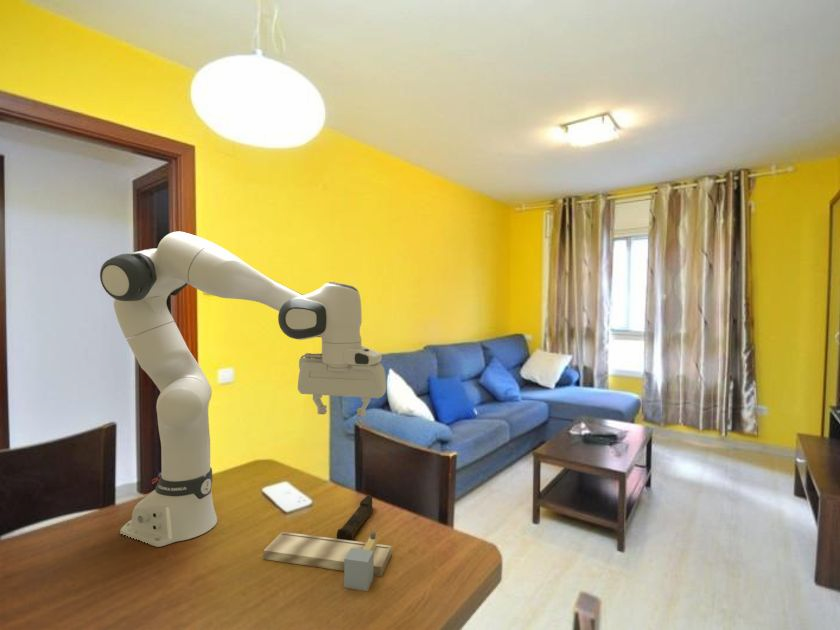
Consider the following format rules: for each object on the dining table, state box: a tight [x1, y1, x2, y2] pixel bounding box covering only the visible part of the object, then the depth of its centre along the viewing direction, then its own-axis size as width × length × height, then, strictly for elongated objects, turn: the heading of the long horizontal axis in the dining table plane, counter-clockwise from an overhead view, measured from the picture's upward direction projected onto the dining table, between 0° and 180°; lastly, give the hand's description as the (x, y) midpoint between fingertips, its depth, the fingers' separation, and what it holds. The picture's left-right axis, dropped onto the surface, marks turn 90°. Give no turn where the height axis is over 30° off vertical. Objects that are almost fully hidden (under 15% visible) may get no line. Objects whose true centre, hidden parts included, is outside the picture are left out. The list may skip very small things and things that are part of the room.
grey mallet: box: [343, 531, 378, 592], centre depth 92 cm, size 5×12×6 cm, turn 169°
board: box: [263, 531, 393, 577], centre depth 97 cm, size 28×8×2 cm, turn 79°
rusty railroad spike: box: [336, 495, 373, 541], centre depth 111 cm, size 19×4×5 cm, turn 163°
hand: (341, 415), depth 95 cm, fingers open, 8 cm apart
